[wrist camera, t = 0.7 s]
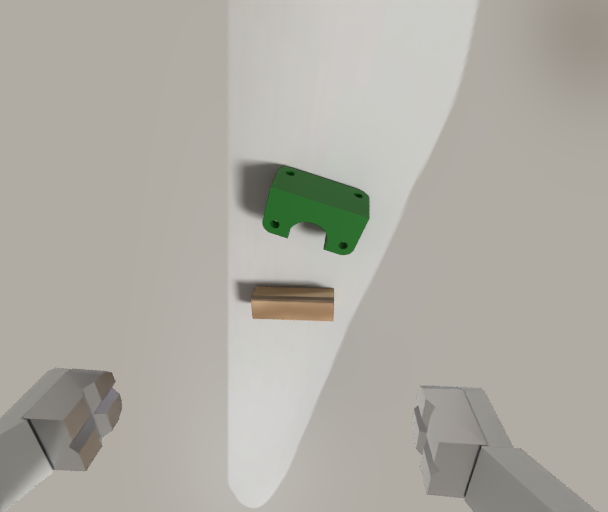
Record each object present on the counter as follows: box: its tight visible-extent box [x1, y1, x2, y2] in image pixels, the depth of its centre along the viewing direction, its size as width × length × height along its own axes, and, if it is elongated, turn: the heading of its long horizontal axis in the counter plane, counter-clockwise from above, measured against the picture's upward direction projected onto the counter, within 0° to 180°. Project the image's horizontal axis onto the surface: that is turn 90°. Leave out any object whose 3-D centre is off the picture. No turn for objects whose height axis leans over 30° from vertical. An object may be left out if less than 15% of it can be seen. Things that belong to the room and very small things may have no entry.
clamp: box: [262, 167, 369, 255], centre depth 41 cm, size 12×6×9 cm, turn 67°
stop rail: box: [251, 286, 334, 321], centre depth 48 cm, size 3×11×4 cm, turn 90°
